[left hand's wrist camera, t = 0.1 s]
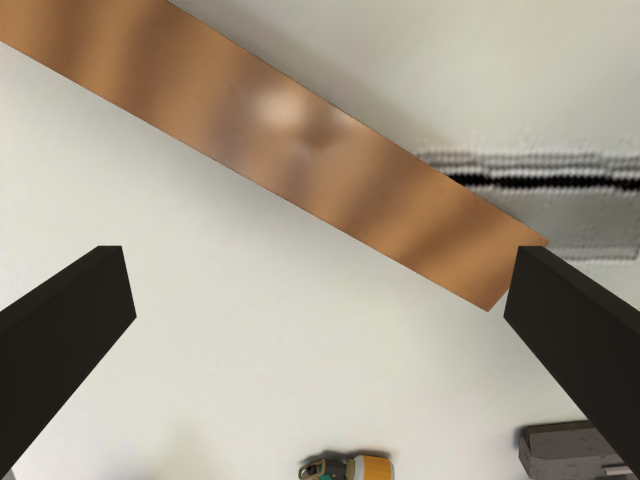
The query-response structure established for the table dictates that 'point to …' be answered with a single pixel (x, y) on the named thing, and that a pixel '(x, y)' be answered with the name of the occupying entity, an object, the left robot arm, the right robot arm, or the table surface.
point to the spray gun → (350, 469)
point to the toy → (570, 454)
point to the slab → (273, 135)
